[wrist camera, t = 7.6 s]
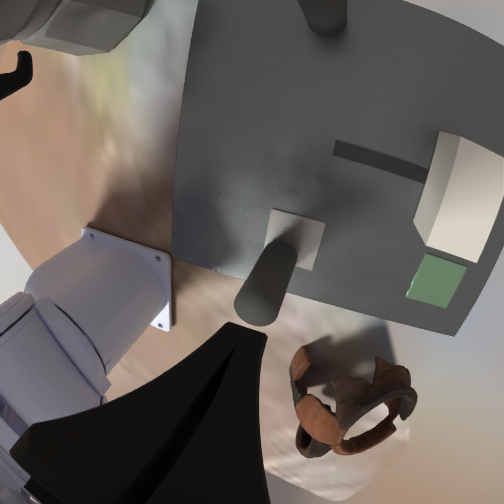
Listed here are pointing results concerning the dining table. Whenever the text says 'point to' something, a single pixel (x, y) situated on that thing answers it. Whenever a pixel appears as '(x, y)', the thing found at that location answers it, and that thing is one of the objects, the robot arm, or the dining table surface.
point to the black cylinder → (325, 15)
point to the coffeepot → (63, 30)
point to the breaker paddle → (460, 197)
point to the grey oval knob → (266, 285)
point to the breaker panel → (333, 151)
